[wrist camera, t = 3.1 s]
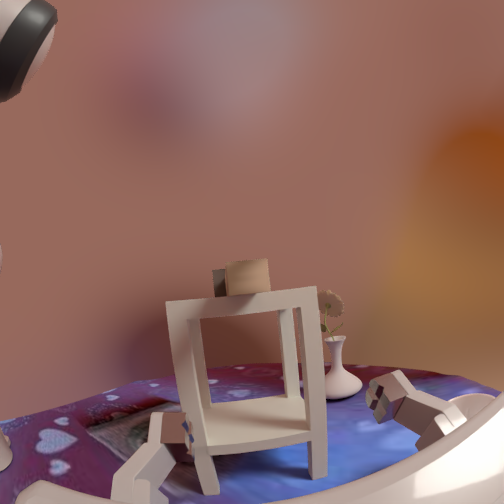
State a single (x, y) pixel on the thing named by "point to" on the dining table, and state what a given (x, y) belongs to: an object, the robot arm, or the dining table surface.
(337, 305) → the flower in vase
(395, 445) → the dining table surface
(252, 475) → the dining table surface
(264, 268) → the mallet
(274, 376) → the dining table surface
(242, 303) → the shelf stand
